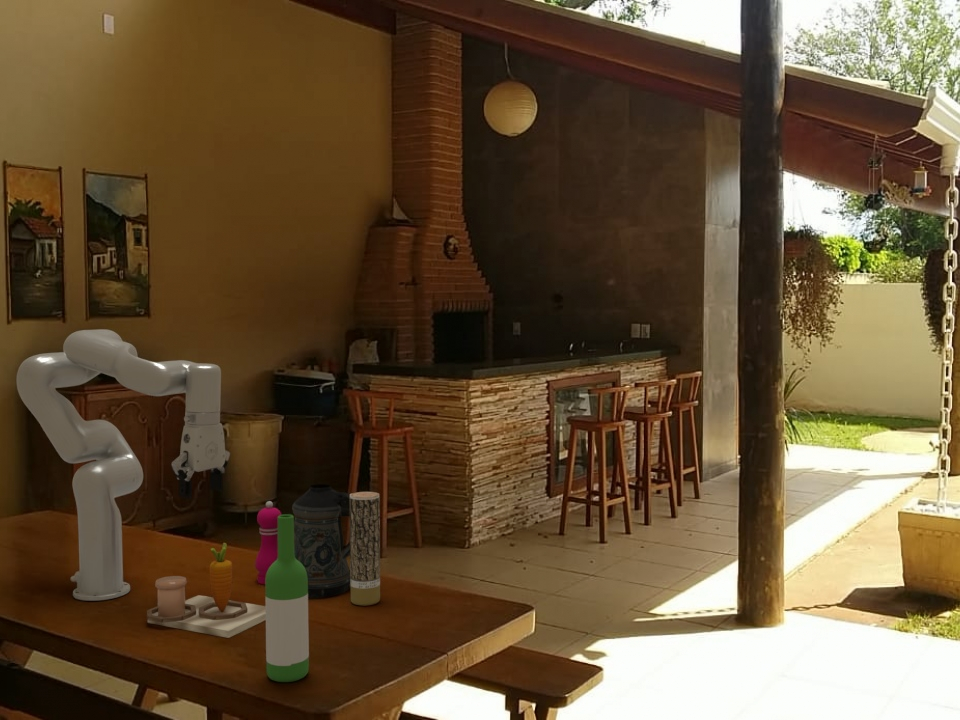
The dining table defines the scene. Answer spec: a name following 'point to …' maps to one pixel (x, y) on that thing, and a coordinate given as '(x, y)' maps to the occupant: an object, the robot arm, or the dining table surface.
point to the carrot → (221, 578)
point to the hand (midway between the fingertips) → (201, 493)
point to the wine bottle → (286, 610)
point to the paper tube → (365, 548)
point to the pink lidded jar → (171, 596)
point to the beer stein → (322, 540)
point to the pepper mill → (267, 540)
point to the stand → (212, 617)
